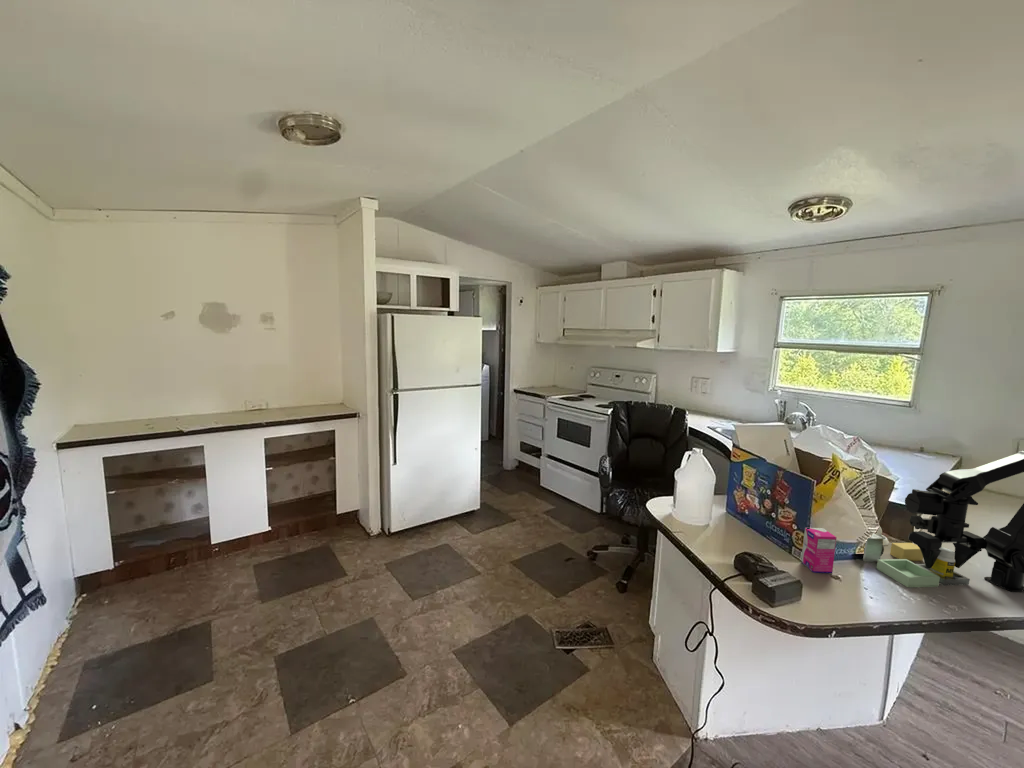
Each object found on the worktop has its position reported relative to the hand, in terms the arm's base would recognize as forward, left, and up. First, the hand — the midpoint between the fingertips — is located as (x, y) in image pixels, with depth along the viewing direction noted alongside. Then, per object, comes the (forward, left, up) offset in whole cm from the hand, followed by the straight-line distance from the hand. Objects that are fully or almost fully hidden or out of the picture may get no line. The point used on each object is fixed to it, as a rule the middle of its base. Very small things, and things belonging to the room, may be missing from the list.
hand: (942, 567), depth 125 cm
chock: (-1, -11, -3) cm, 11 cm away
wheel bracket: (+12, -11, -3) cm, 16 cm away
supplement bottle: (0, 0, -3) cm, 3 cm away
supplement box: (+35, -6, -3) cm, 35 cm away
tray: (+11, 0, -3) cm, 11 cm away
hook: (-1, -23, -3) cm, 23 cm away
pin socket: (0, 0, -3) cm, 3 cm away
